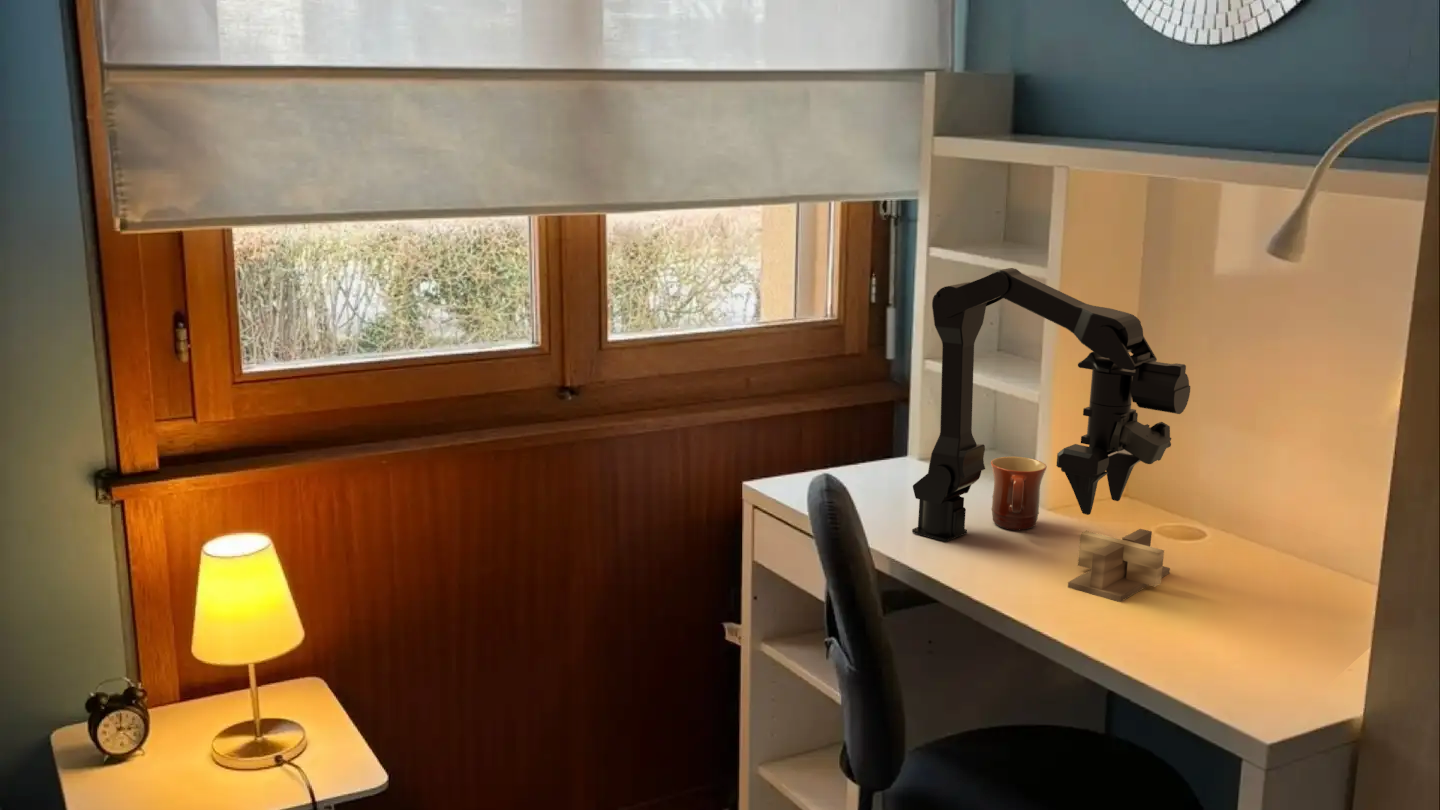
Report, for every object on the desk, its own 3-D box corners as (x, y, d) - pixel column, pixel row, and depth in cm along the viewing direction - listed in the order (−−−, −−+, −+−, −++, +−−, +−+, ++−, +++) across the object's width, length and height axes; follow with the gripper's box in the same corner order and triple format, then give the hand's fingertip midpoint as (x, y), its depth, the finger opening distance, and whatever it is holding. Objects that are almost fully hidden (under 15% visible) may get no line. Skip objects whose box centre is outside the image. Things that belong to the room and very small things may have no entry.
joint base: (1067, 587, 197) (1071, 548, 195) (1118, 559, 208) (1122, 523, 207) (1120, 601, 192) (1124, 562, 190) (1169, 573, 203) (1173, 535, 202)
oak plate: (1077, 565, 203) (1080, 533, 202) (1083, 562, 204) (1086, 530, 203) (1155, 586, 195) (1158, 553, 194) (1160, 583, 197) (1164, 550, 196)
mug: (987, 514, 229) (991, 454, 226) (1041, 518, 227) (1046, 458, 225) (985, 537, 217) (990, 474, 215) (1042, 542, 215) (1047, 479, 213)
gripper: (1134, 423, 184) (1124, 534, 188) (1192, 401, 198) (1181, 505, 202) (1059, 409, 192) (1050, 516, 195) (1119, 388, 205) (1110, 489, 209)
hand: (1101, 507), depth 200 cm, fingers open, 9 cm apart
